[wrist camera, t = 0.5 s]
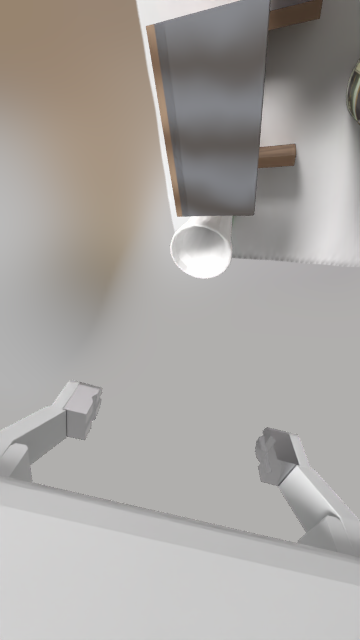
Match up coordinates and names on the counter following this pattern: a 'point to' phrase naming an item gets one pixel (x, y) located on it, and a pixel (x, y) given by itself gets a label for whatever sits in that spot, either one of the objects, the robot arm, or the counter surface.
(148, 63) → the counter surface
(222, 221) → the cup
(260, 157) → the wooden caddy stand
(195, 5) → the counter surface
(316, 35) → the counter surface
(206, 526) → the robot arm
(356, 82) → the coffee can
